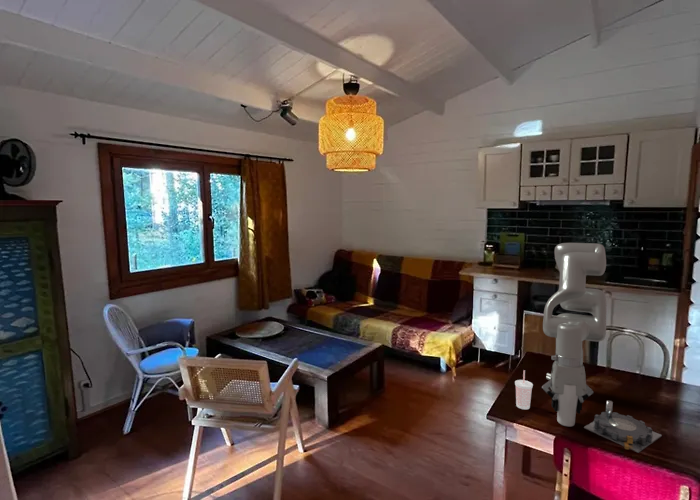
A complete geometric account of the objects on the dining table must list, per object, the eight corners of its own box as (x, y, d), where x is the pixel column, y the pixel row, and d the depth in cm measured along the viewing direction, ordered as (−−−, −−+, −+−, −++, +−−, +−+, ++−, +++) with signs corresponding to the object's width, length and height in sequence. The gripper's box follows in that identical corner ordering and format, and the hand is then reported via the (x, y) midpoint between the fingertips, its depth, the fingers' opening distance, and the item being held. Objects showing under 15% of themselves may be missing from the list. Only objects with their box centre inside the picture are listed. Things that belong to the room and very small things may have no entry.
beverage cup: (513, 408, 145) (514, 371, 144) (515, 401, 151) (516, 365, 149) (531, 412, 142) (532, 375, 141) (532, 404, 148) (533, 368, 146)
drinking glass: (550, 418, 138) (552, 377, 136) (568, 417, 138) (570, 376, 137) (562, 429, 131) (564, 386, 130) (581, 427, 132) (583, 385, 130)
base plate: (580, 429, 131) (580, 425, 130) (608, 414, 140) (608, 410, 140) (635, 455, 117) (635, 450, 117) (661, 436, 126) (662, 432, 126)
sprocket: (621, 447, 120) (623, 425, 119) (582, 420, 135) (583, 400, 135) (665, 441, 123) (667, 419, 122) (622, 415, 138) (623, 396, 137)
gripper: (543, 362, 131) (541, 413, 133) (601, 366, 127) (598, 419, 129) (538, 354, 138) (536, 402, 140) (593, 357, 134) (590, 407, 136)
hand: (566, 410), depth 134 cm, fingers closed on drinking glass, 6 cm apart
